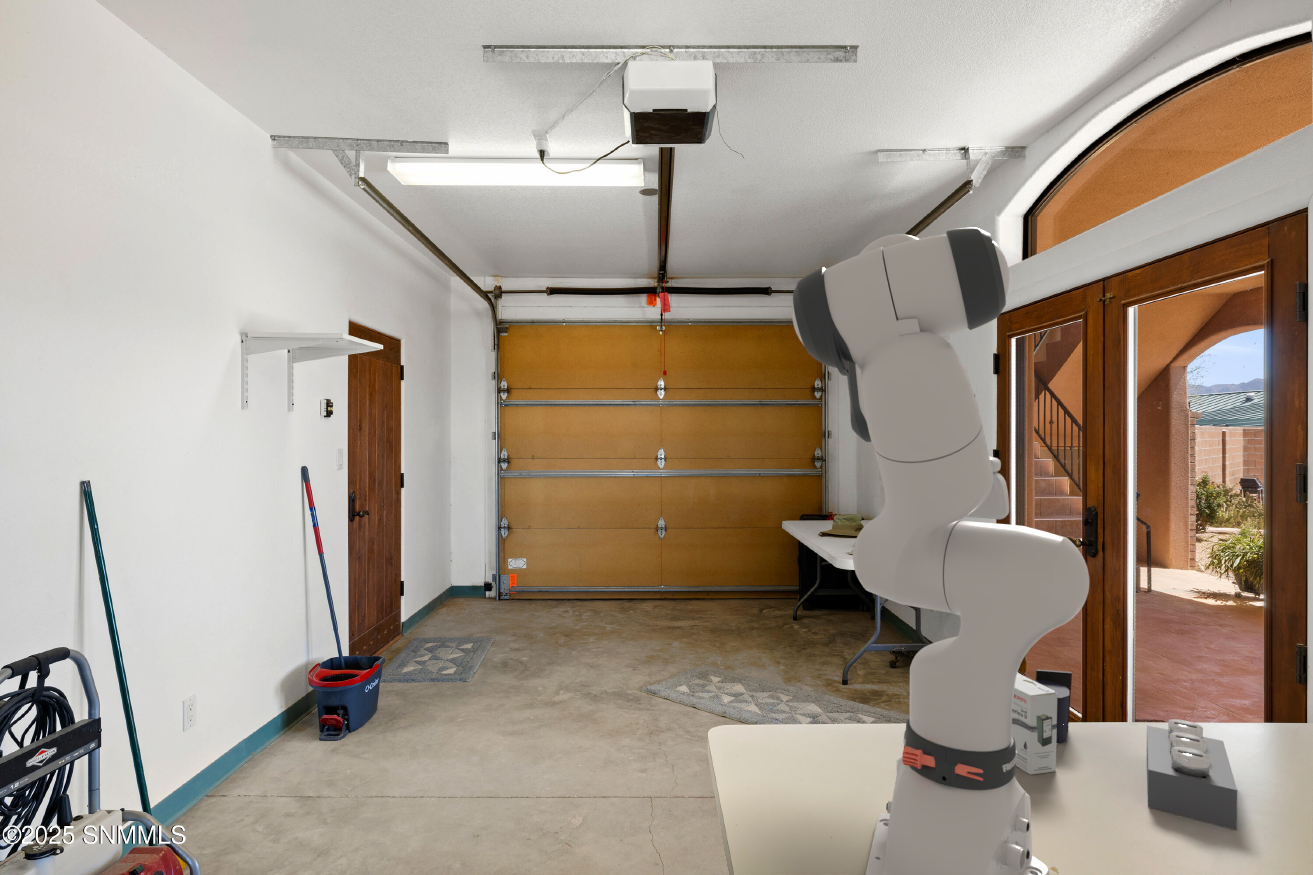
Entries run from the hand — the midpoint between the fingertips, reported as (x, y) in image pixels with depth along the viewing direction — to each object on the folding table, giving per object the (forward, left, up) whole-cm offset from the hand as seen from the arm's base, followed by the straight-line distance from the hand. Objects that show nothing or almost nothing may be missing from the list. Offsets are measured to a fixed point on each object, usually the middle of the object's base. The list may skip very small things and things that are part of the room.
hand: (941, 542), depth 115 cm
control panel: (-2, -33, -31) cm, 45 cm away
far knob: (+4, -33, -29) cm, 44 cm away
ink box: (-5, -13, -31) cm, 34 cm away
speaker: (+7, -16, -31) cm, 36 cm away
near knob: (-7, -33, -29) cm, 44 cm away
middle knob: (-2, -33, -29) cm, 44 cm away
